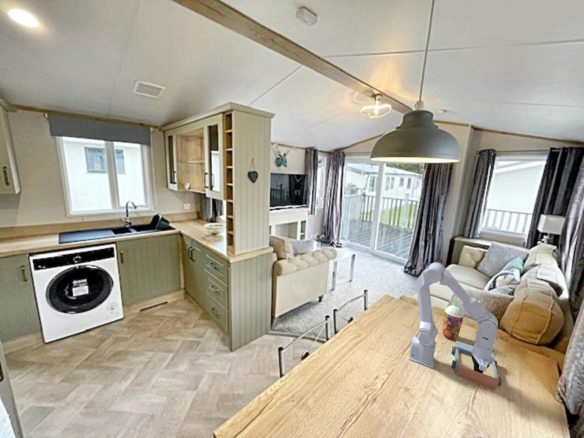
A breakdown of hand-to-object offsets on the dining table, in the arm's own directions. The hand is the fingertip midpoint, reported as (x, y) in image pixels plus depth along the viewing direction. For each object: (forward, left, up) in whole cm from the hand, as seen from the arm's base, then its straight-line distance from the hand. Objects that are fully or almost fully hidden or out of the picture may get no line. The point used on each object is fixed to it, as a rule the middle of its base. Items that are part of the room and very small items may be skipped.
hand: (477, 375), depth 103 cm
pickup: (0, +10, -3) cm, 10 cm away
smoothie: (-9, +29, -4) cm, 31 cm away
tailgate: (0, 0, -3) cm, 3 cm away
